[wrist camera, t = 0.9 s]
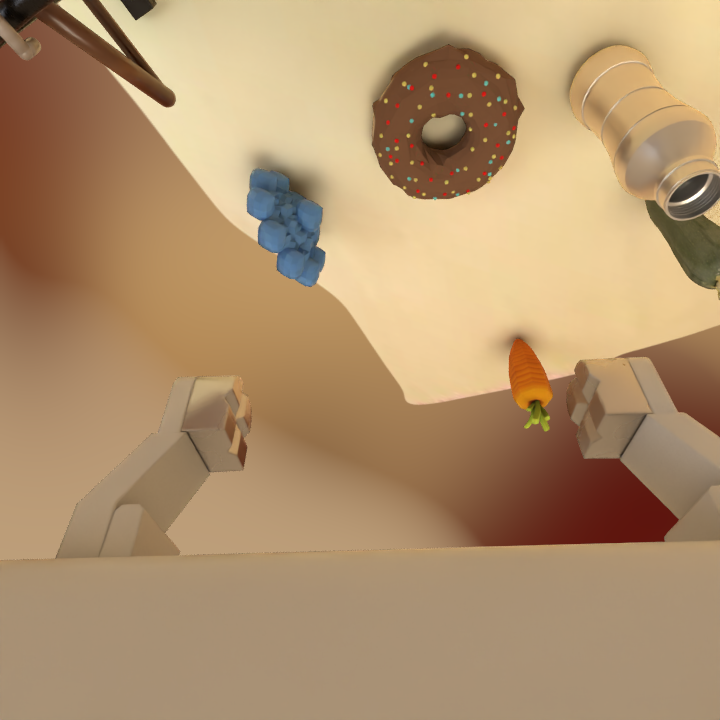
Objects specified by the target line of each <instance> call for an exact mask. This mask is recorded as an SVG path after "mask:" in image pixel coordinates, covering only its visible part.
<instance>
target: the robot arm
mask: <svg viewBox="0 0 720 720" xmlns="http://www.w3.org/2000/svg"><path fill="white" fill-rule="evenodd" d="M574 371H575V374H576V378H575V379H574V380H572V381H571V382H570V383H569V386H568V389H567V398H566V403H567V409H568V413H569V416H570V419H571V420H572V421H573V422H574V423H576V424H577V425H578V426H579V429H578V431H577V433H576V437H577V440H578V443H579V446H580V449H581V452H582V454H583V457H584V458H620V461H621V462H622V463H623V464H624V465H626V466H627V468H628V469H630V470H631V472H632V473H633V474H634V475H635V476H636V477H637V478H639V480H640V481H641V482H642V483H643V484H644V485H645V486H646V487H647V488H648V489H650V491H651V492H652V493H653V494H655V496H656V497H657V498H658V499H659V500H660V501H661V502H662V503H663V504H664V505H666V507H668V508H669V509H670V511H671V512H672V513H673V514H674V515H675V516H676V517H677V518H678V519H679V521H678V522H677V523H676V524H675V525H674V526H673V527H672V529H671V530H670V531H669V532H668V533H667V534H666V536H665V537H664V539H665V542H645V543H611V544H610V543H609V544H573V545H572V544H571V545H533V546H496V547H463V548H461V547H459V548H425V549H423V548H422V549H387V550H350V551H349V550H348V551H313V552H279V553H278V552H276V553H241V554H240V553H239V554H207V555H206V554H203V555H179V554H180V551H179V549H178V548H177V547H176V545H175V544H174V543H173V542H172V541H171V539H170V538H169V537H168V536H167V535H166V534H165V532H166V531H167V530H168V528H169V527H170V526H171V524H172V523H173V522H174V521H175V519H176V518H177V517H178V515H179V514H180V513H181V511H182V510H183V509H184V508H185V506H186V505H187V504H188V502H189V501H190V500H191V499H192V497H193V496H194V495H195V493H196V492H197V491H198V489H199V488H200V487H201V486H202V484H203V483H204V482H205V480H206V479H207V477H208V476H209V475H210V473H209V472H223V471H240V470H243V469H244V464H245V458H246V452H247V445H246V443H245V440H244V437H245V436H246V435H247V434H248V433H249V432H250V428H251V405H250V401H249V398H248V396H247V395H246V394H244V393H243V392H242V390H243V382H242V380H241V378H240V376H198V377H178V378H177V379H176V381H175V382H174V383H173V386H172V389H171V393H170V396H169V399H168V402H167V405H166V408H165V412H164V415H163V418H162V421H161V424H160V427H159V431H158V433H152V434H151V435H150V436H149V437H148V438H146V439H145V440H144V441H143V442H142V443H141V444H140V445H139V446H138V447H137V448H136V449H135V450H134V451H133V452H132V453H131V454H129V455H128V456H127V457H126V458H125V459H124V460H123V461H122V462H121V463H120V464H119V465H118V466H117V467H116V468H115V469H114V470H113V471H111V472H110V473H109V474H108V475H107V476H106V477H105V478H104V479H103V480H102V481H101V482H100V483H99V484H98V485H97V486H96V487H95V488H93V489H92V490H91V491H90V492H89V493H88V494H87V495H86V496H85V497H84V498H83V499H82V500H81V501H80V502H79V503H77V505H76V507H75V510H74V512H73V515H72V517H71V520H70V522H69V525H68V527H67V530H66V533H65V535H64V538H63V540H62V543H61V545H60V548H59V550H58V553H57V555H56V558H55V559H23V560H22V559H21V560H0V720H720V437H718V436H717V435H716V434H714V433H713V432H711V431H710V430H709V429H707V428H706V427H704V426H703V425H701V424H700V423H699V422H697V421H696V420H694V419H693V418H692V417H690V416H689V415H687V414H686V413H678V412H677V410H676V408H675V406H674V404H673V402H672V400H671V398H670V396H669V394H668V392H667V390H666V388H665V387H664V385H663V383H662V381H661V379H660V377H659V375H658V373H657V371H656V369H655V367H654V365H653V364H652V362H651V360H650V359H649V358H647V357H636V358H608V359H590V360H580V361H579V362H578V363H577V365H576V367H575V370H574Z"/></svg>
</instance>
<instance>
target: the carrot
mask: <svg viewBox="0 0 720 720" xmlns="http://www.w3.org/2000/svg"><path fill="white" fill-rule="evenodd" d="M509 378H510V384H511V389H512V393H513V398H514V400H515V402H516V403H517V404H518V405H519V407H520V408H522V409H526V410H527V411H531V416H530V418H529V420H528V422H527V423H526V425H525V426H524V428H528V427H529V426H530V425H531V424H532V423H533V424H538V422H539V419H540V422H541V425H542V427H543V429H544V431H548V430H549V429H550V428H549V425H548V423H547V421H548V420H549V419H550V417H549V415H548V413H547V412H546V410H545V409H544V408H543V407H545V406H546V405H547V403H548V402H549V401H550V400H551V398H552V397H553V393H552V390H551V387H550V384H549V381H548V378H547V376H546V373H545V370H544V368H543V367H542V365H541V363H540V361H539V360H538V358H537V356H536V355H535V353H534V352H533V350H532V349H531V348H530V346H529V345H528V344H527V343H525V342H524V341H523V340H522V339H516V340H515V341H514V343H513V346H512V348H511V351H510V355H509Z"/></svg>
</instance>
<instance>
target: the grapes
mask: <svg viewBox="0 0 720 720" xmlns="http://www.w3.org/2000/svg"><path fill="white" fill-rule="evenodd" d="M289 185H290V183H289V178H288V177H286V176H285V175H283V174H281V173H280V172H276V171H270V172H269V171H267V170H264V169H260V168H257V169H255V170H253V171H252V173H251V176H250V191H249V193H248V195H247V212H248V213H249V214H250V215H251V216H253V217H255V218H257V219H258V220H261V224H260V226H259V229H258V244H259V245H261V246H262V247H263V248H265V249H266V250H268V251H270V252H272V253H278V256H277V270H278V271H279V272H280V273H281V274H283V275H284V276H286V277H288V278H289V279H295V280H296V281H298V282H299V283H301V284H303V285H304V286H309V287H312V286H313V285H315V284H316V282H317V280H318V277H319V273H320V272H321V271H322V269H323V266H324V263H325V252H324V251H323V250H322V249H320V248H319V247H317V246H316V245H317V243H318V240H319V235H320V224H321V221H322V214H323V208H322V207H321V206H319V205H318V204H316V203H315V202H313V201H310V200H306V198H304V197H303V196H302V195H300V194H298V193H296V192H293V191H289Z"/></svg>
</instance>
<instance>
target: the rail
mask: <svg viewBox="0 0 720 720" xmlns="http://www.w3.org/2000/svg"><path fill="white" fill-rule="evenodd" d="M60 1H61V0H0V14H1V15H2V16H3V17H4V19H5V20H6V21H7V22H8V23H9V24H10V25H11V26H12V27H13V28H14V30H15V31H16V32H17V33H18V34H19V33H20V32H21V31H23V30H24V29H25V28H26V27H28V26H29V25H30V24H32V23H33V22H34V21H35V20H37V19H38V18H36V17H35V16H36V15H37V14H38V13H39V12H41V11H42V10H43V9H44V8H45V7H47V6H48V5H49V4H50V3H52V2H54V3H56V4H57V3H58V2H60ZM121 1H122V3H123V4H124V5H125V7H126V8H127V9H128V11H129V12H130V13H131V15H132V16H133V18H134V19H135V20H137V19H139V18H140V17H142V16H143V15H144V14H146V13H147V12H148V11H150V10H151V9H153V8H154V6H155V5H156V4H157V3H156V2H155V0H121ZM6 43H7V42H6V41H5V40H4V39H3V38H2V37H1V36H0V48H1V47H2V46H3V45H5V44H6Z"/></svg>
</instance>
